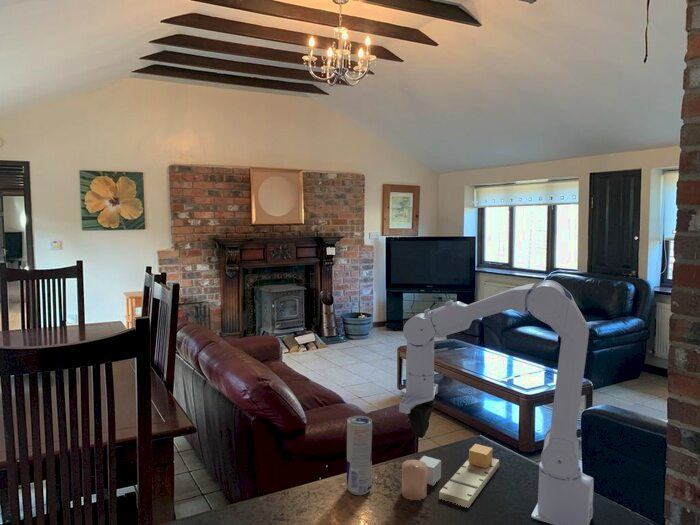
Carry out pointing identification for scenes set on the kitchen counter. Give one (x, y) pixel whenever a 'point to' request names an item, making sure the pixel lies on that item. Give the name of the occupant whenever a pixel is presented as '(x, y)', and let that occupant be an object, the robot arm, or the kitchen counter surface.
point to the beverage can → (359, 455)
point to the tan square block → (480, 455)
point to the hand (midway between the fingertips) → (418, 436)
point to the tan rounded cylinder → (414, 480)
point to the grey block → (432, 469)
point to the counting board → (467, 483)
